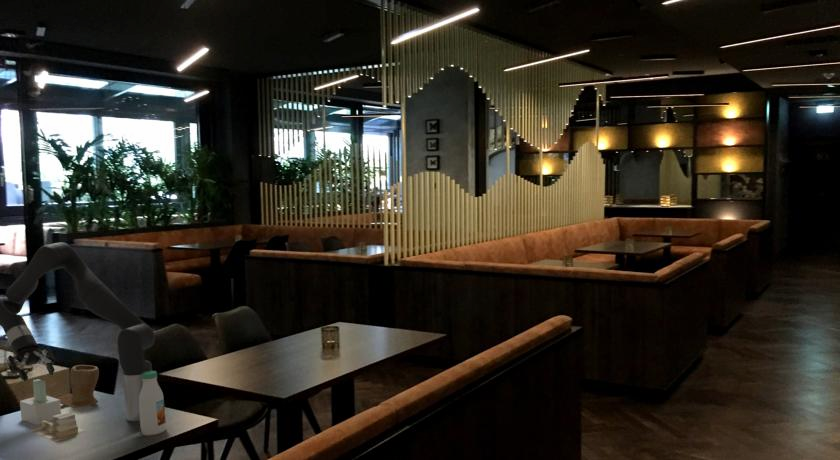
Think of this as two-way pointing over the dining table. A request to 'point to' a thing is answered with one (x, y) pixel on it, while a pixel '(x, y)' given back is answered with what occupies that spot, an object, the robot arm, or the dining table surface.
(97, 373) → the stone cup
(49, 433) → the rack
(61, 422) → the offcut stack
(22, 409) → the sheet stand
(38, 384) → the tall sheet
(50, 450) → the dining table surface
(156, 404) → the milk bottle
